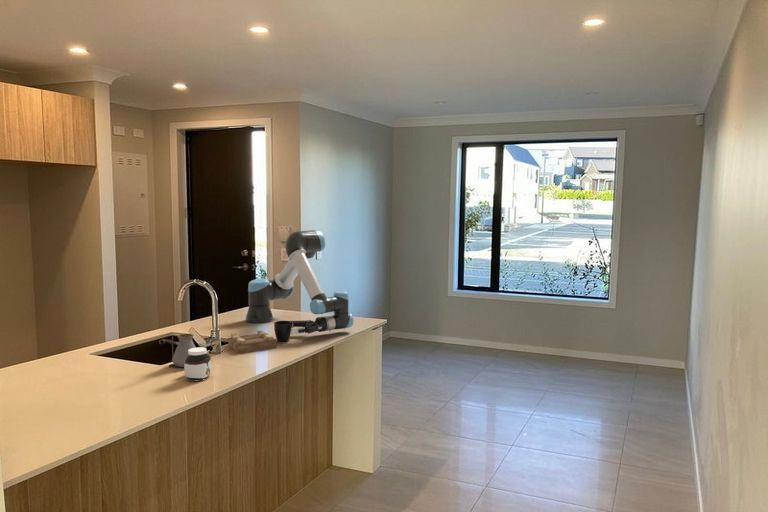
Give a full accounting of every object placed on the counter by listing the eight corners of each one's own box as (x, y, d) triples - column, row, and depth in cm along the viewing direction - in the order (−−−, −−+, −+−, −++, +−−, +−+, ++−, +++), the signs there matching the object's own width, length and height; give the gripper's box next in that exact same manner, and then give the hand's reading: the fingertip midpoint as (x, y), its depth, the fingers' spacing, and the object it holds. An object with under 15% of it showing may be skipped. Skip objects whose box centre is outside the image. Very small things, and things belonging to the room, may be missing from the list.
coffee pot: (183, 360, 251) (182, 326, 250) (206, 362, 248) (205, 328, 247) (150, 375, 231) (148, 338, 229) (175, 377, 228) (173, 340, 226)
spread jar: (198, 383, 221) (197, 353, 220) (174, 380, 225) (172, 351, 224) (217, 374, 232) (216, 346, 231) (194, 371, 236) (193, 343, 235)
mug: (299, 338, 289) (298, 319, 288) (285, 344, 278) (284, 324, 277) (285, 336, 293) (284, 318, 292) (271, 342, 282) (270, 323, 281)
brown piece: (228, 346, 275) (228, 334, 274) (264, 340, 285) (264, 329, 284) (238, 353, 262) (238, 341, 262) (275, 347, 272) (275, 336, 271)
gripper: (336, 336, 286) (296, 341, 275) (314, 326, 307) (276, 331, 295) (336, 321, 285) (296, 326, 274) (313, 312, 306) (276, 316, 295)
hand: (285, 328), depth 285 cm, fingers open, 13 cm apart
